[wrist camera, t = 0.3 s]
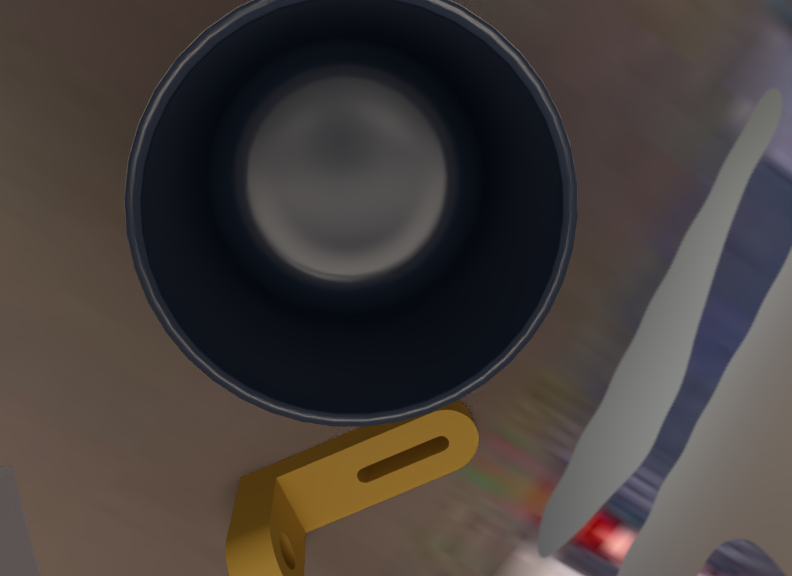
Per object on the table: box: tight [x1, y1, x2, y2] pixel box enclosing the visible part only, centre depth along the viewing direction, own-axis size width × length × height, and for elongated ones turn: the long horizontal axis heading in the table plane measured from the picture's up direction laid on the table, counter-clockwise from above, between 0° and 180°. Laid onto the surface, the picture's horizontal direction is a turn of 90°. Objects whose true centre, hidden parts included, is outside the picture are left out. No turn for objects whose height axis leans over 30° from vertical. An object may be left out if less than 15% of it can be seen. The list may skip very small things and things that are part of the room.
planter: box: [124, 0, 577, 426], centre depth 29 cm, size 16×16×14 cm
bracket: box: [226, 401, 479, 576], centre depth 37 cm, size 15×4×8 cm, turn 112°
